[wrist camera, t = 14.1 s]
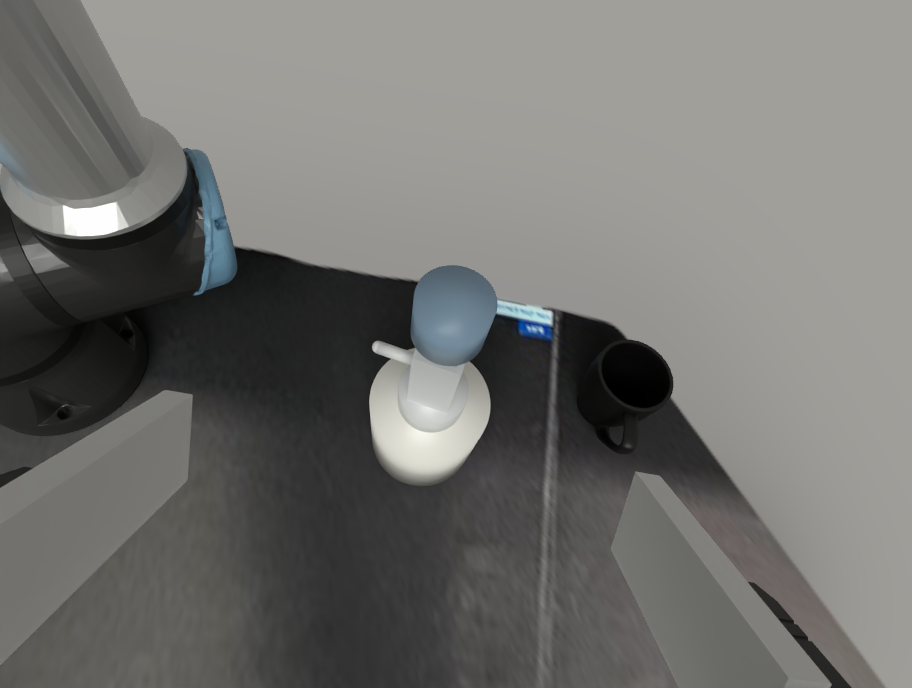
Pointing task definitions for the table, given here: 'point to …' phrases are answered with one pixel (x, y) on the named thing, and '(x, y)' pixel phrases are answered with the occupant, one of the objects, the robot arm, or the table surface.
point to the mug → (624, 390)
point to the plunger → (452, 314)
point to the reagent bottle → (425, 415)
